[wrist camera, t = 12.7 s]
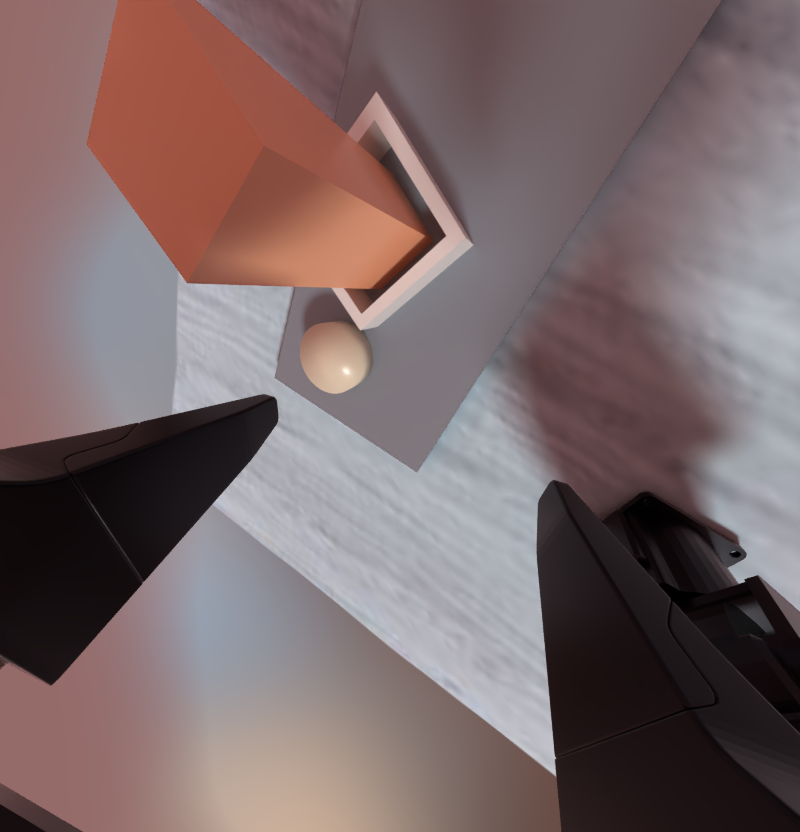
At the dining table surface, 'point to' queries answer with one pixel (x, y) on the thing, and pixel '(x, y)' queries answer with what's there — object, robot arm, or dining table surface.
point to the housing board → (473, 187)
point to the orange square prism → (240, 161)
